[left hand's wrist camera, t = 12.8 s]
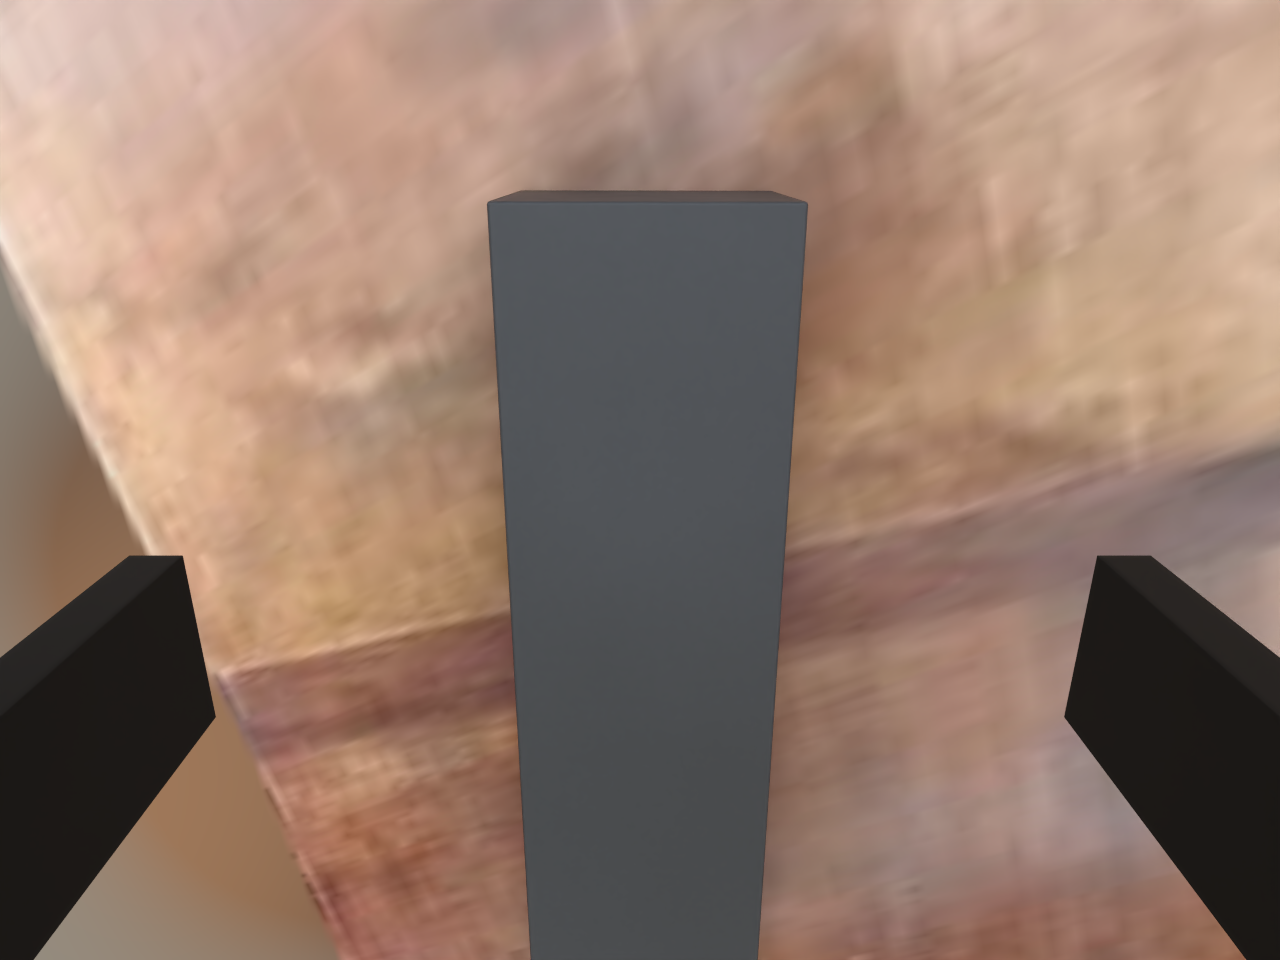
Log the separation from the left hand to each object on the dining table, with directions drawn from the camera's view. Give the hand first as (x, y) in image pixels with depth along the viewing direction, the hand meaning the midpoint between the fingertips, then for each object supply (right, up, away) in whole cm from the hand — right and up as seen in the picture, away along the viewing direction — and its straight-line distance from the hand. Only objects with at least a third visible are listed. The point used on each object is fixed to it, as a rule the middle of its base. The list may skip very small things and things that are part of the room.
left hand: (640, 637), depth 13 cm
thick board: (0, -18, +31) cm, 36 cm away
